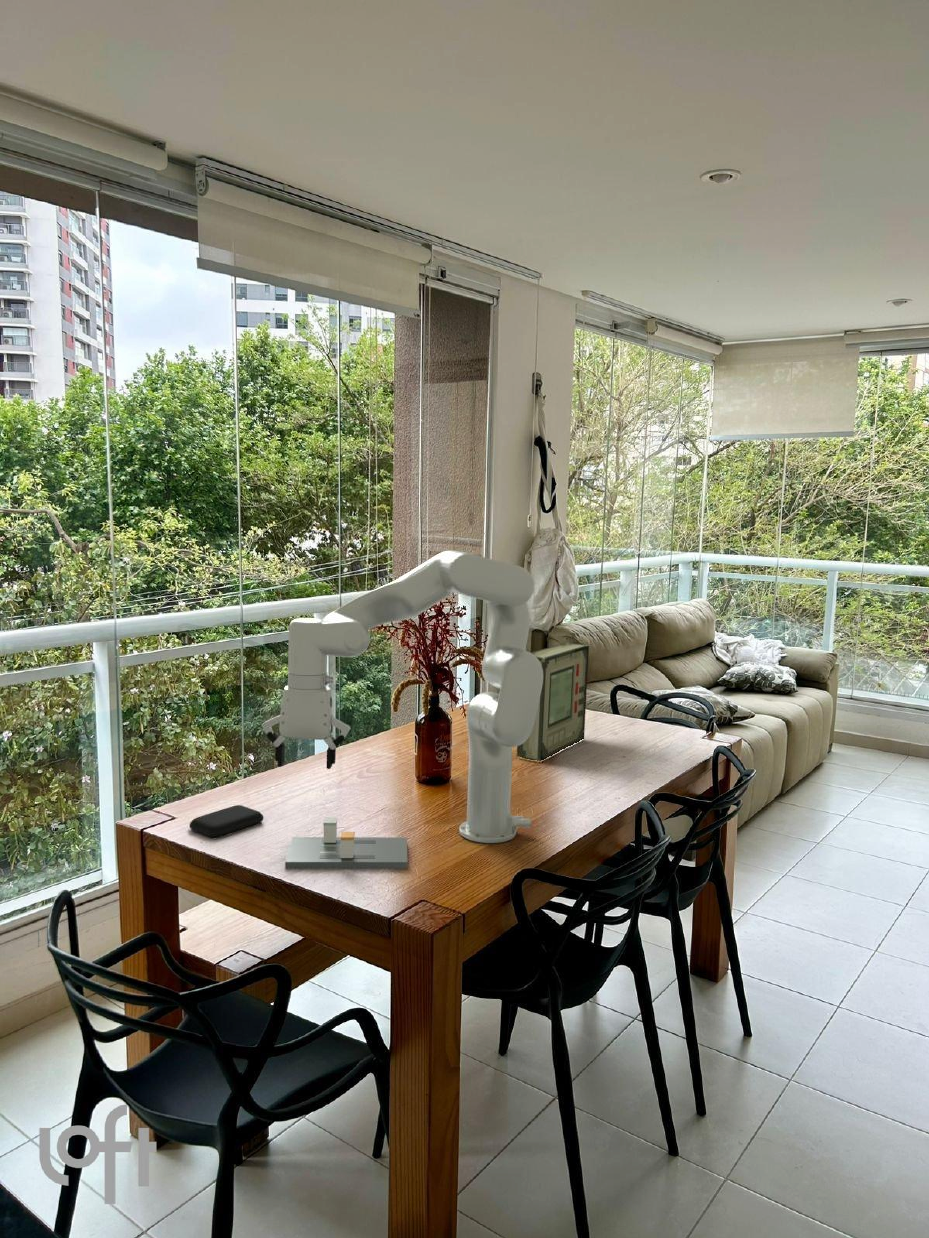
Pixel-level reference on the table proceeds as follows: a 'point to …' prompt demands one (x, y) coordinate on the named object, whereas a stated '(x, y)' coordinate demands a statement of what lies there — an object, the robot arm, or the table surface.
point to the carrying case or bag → (226, 821)
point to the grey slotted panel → (329, 857)
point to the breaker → (330, 829)
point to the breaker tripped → (347, 844)
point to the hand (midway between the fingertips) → (305, 765)
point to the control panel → (559, 701)
